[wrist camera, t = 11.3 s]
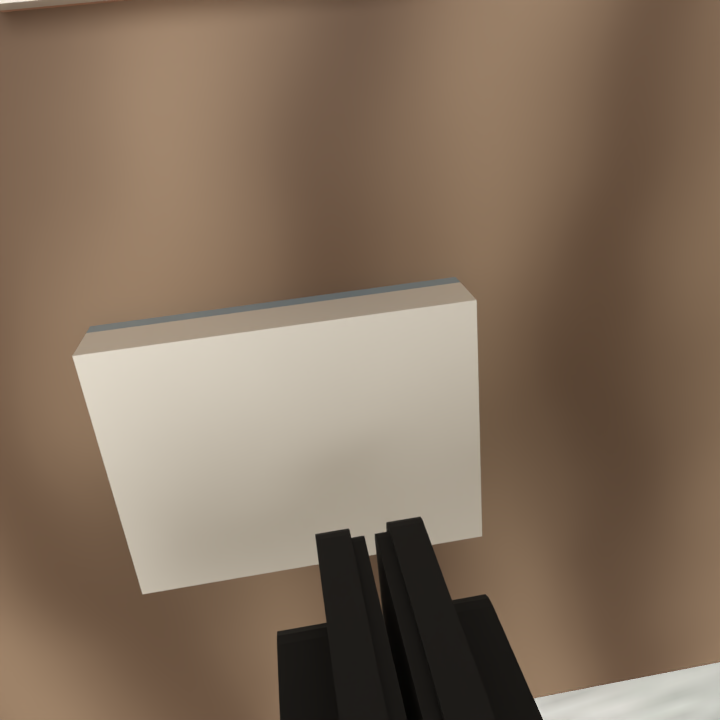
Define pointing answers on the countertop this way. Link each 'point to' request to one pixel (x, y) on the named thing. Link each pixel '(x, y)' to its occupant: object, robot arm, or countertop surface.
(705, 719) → the countertop surface
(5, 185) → the board
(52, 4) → the tile
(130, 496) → the tile
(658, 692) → the countertop surface
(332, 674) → the robot arm
